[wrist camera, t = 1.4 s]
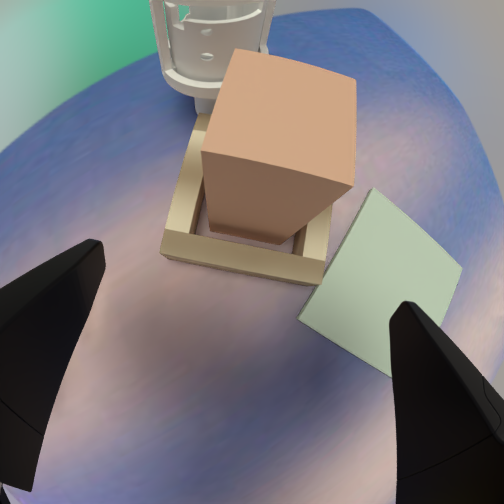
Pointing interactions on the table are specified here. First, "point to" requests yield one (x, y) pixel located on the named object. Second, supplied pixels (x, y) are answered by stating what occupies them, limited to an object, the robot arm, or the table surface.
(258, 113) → the block
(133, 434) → the table surface
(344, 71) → the table surface
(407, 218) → the mat
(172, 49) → the white flanged cylinder housing
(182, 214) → the pocket frame
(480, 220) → the table surface
